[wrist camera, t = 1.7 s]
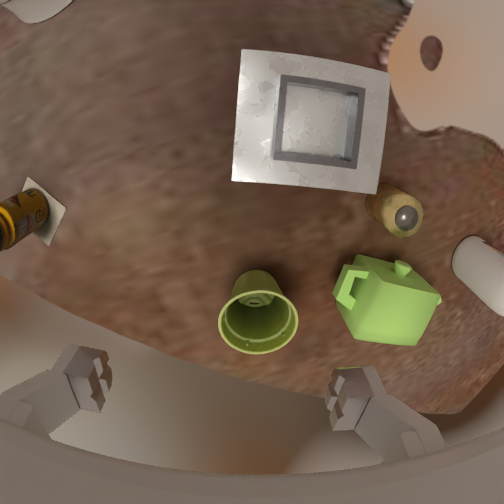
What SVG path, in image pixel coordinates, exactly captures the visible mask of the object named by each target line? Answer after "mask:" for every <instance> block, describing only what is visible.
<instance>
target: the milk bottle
mask: <svg viewBox="0 0 504 504" xmlns="http://www.w3.org/2000/svg"><path fill="white" fill-rule="evenodd" d="M452 269H453V272H454V273H455V275H456V276H457V277H458V278H459V279H460V280H461V281H462V282H463V283H464V284H466V285H467V286H468V287H469V288H470V289H471V290H472V291H473V292H474V293H475V294H476V295H477V296H478V297H479V298H480V299H481V300H482V301H483V302H484V303H485V304H487V305H488V306H489V307H490V308H491V309H492V310H493V311H495V312H496V313H498V314H499V315H502V316H504V254H503V253H502V252H500V251H499V250H497V249H496V248H494V247H493V246H492V245H490V244H489V243H487V242H486V241H484V240H483V239H481V238H479V237H477V236H470V237H467V238H465V239H464V240H463V241H461V242H460V244H459V245H458V246H457V248H456V249H455V252H454V254H453V257H452Z"/></svg>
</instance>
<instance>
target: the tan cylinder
mask: <svg viewBox="0 0 504 504" xmlns="http://www.w3.org/2000/svg"><path fill="white" fill-rule="evenodd" d="M366 208H367V211H368V212H369V214H370V215H371V216H373V217H374V218H375V219H376V220H377V221H378V222H380V223H381V224H382V225H383V226H384V227H385V228H387V229H388V230H389V231H390V232H391V233H392V234H393V235H395V236H397V237H401V238H404V237H408V236H411V235H412V234H414V233H415V232H416V231H417V230H418V229H419V227H420V225H421V223H422V220H423V209H422V206H421V204H420V203H419V201H418V200H416V199H415V198H413V197H411V196H410V195H408V194H406V193H404V192H402V191H400V190H399V189H397V188H395V187H393V186H391V185H389V184H386V183H381V184H378V186H377V191H376V195H375V194H367V197H366Z"/></svg>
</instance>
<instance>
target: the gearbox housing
mask: <svg viewBox="0 0 504 504" xmlns="http://www.w3.org/2000/svg"><path fill="white" fill-rule="evenodd" d="M390 77H391V74H389V73H386V72H382V71H378V70H375V69H371V68H366V67H362V66H358V65H353V64H349V63H344V62H339V61H334V60H329V59H323V58H317V57H311V56H304V55H297V54H290V53H281V52H272V51H261V50H248V49H242V52H241V63H240V75H239V87H238V99H237V112H236V126H235V140H234V154H233V169H232V181H244V182H259V183H272V184H284V185H296V186H306V187H316V188H326V189H335V190H344V191H352V192H360V193H368V194H375V195H376V191H377V186H378V180H379V173H380V167H381V160H382V153H383V146H384V138H385V130H386V121H387V112H388V102H389V90H390Z"/></svg>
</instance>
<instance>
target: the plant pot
mask: <svg viewBox="0 0 504 504" xmlns="http://www.w3.org/2000/svg"><path fill="white" fill-rule="evenodd" d="M250 302H257V303H258V304H250ZM297 326H298V315H297V311H296V309H295V307H294V305H293V304H292V303H291V301H290V300H289V299H287V298H286V297H285V296H283V294H282V292H281V290H280V288H279V286H278V284H277V282H276V280H275V279H274V278H273V277H272V276H271V275H270V274H269V273H267V272H265V271H262V270H250V271H247V272H245V273H244V274H242V275H241V276H240V277H239V278H237V280H236V282H235V284H234V287H233V291H232V294H231V297H230V300H229V301H228V302H227V303H226V304H225V305H224V306H223V308H222V310H221V312H220V314H219V319H218V327H219V331H220V334H221V336H222V337H223V339H224V340H225V341H226V342H227V343H228V344H229V345H230V346H231V347H233V348H235V349H236V350H238V351H241V352H245V353H249V354H264V353H268V352H272V351H275V350H277V349H279V348H281V347H283V346H284V345H286V344H287V343H288V342H289V341H290V340H291V338H292V337H293V336H294V334H295V332H296V330H297Z"/></svg>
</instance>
